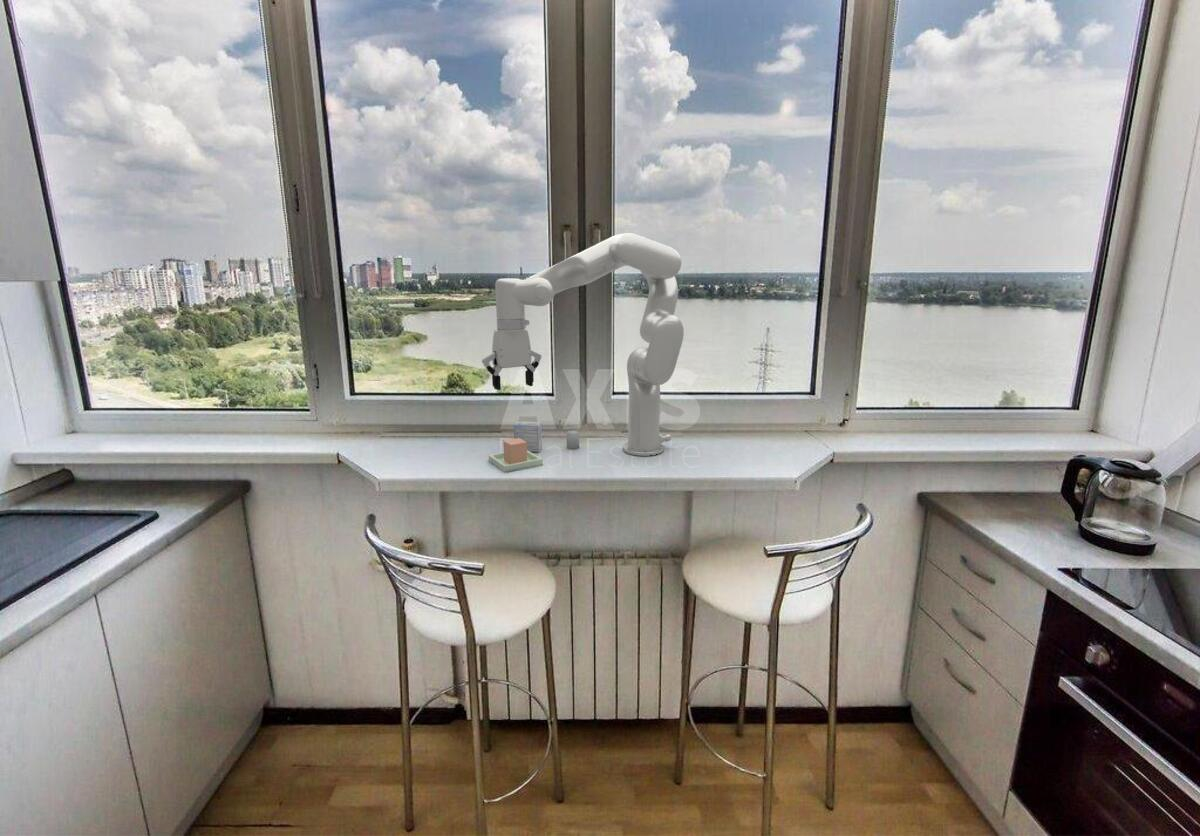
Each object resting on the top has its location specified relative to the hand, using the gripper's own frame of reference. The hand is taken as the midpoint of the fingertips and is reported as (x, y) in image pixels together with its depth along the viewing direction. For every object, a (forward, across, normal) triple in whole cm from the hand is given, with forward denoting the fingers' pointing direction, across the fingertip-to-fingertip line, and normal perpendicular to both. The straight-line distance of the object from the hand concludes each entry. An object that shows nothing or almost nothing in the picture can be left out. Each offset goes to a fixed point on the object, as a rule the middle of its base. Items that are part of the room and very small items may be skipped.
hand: (513, 387), depth 157 cm
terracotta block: (+22, 0, 0) cm, 22 cm away
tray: (+22, 0, 0) cm, 22 cm away
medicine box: (+22, -8, -9) cm, 26 cm away
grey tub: (+22, -21, -4) cm, 31 cm away
